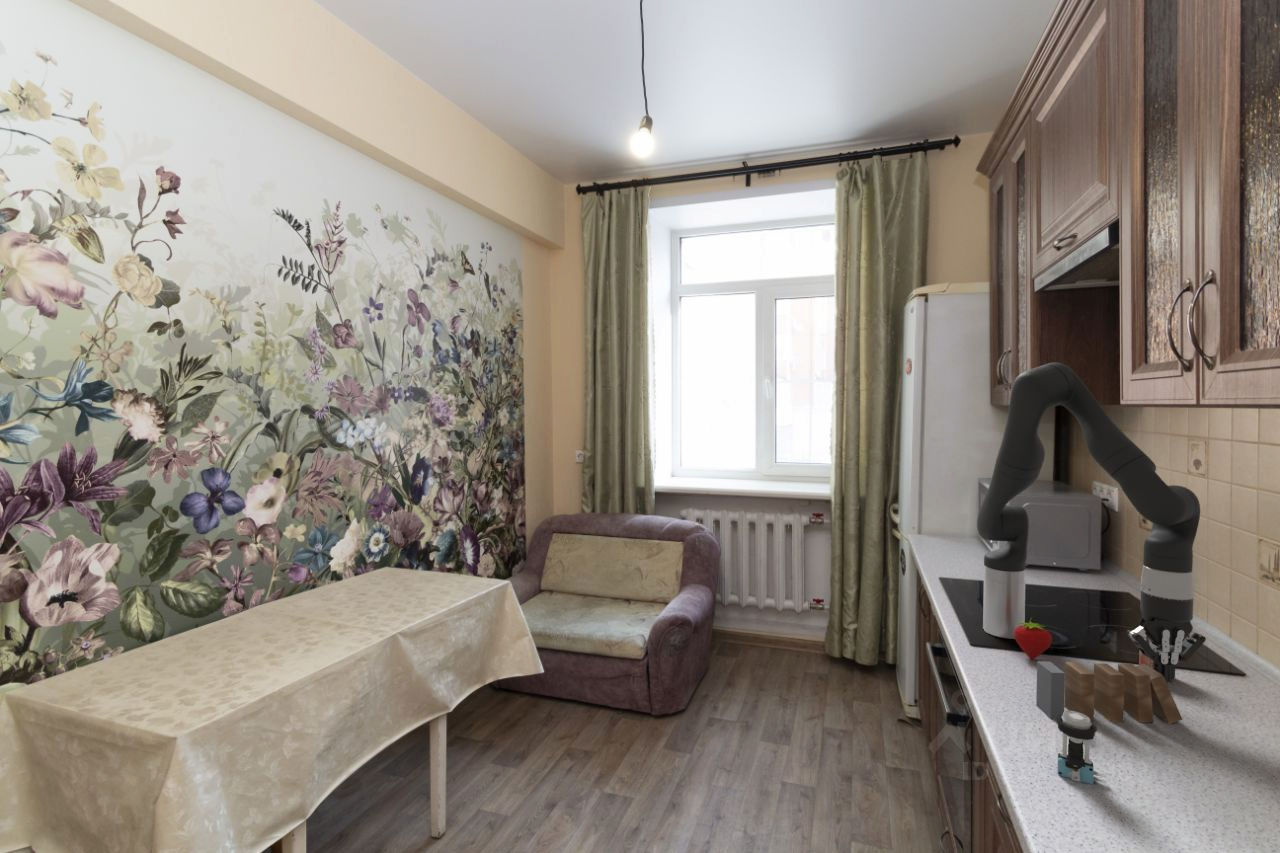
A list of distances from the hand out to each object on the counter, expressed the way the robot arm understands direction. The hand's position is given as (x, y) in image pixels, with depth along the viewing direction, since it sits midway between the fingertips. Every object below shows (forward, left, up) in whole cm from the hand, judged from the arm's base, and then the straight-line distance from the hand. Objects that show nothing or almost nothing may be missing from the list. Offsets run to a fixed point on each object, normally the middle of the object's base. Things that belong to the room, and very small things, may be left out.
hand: (1164, 680), depth 115 cm
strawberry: (-25, -11, -7) cm, 28 cm away
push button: (+21, -27, -7) cm, 35 cm away
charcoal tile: (0, -20, -7) cm, 21 cm away
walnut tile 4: (0, -15, -7) cm, 17 cm away
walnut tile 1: (0, 0, -6) cm, 7 cm away
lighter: (-17, +10, -7) cm, 21 cm away
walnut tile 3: (0, -10, -7) cm, 12 cm away
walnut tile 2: (0, -5, -7) cm, 8 cm away
